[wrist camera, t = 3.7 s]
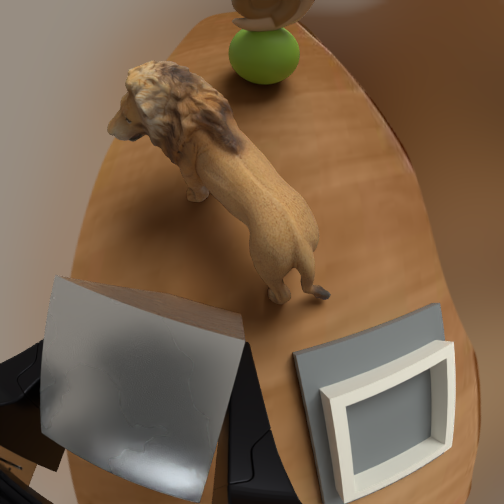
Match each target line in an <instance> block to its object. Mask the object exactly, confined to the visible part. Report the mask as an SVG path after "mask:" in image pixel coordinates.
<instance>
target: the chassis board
mask: <svg viewBox="0 0 504 504" xmlns="http://www.w3.org/2000/svg"><path fill="white" fill-rule="evenodd" d="M293 356H294V361H295V366H296V370H297V375H298V380H299V384H300V389H301V394H302V399H303V404H304V408H305V413H306V418H307V423H308V428H309V433H310V438H311V443H312V448H313V453H314V459H315V464H316V469H317V474H318V480H319V485H320V491H321V496H322V502H323V504H347V503H350V502H352V501H355V500H357V499H360V498H362V497H365V496H367V495H369V494H372V493H374V492H376V491H378V490H380V489H382V488H385V487H387V486H389V485H391V484H393V483H395V482H397V481H398V480H400V479H402V478H404V477H406V476H408V475H410V474H411V473H413V472H415V471H416V470H418V469H420V468H422V467H423V466H425V465H426V464H428V463H430V462H431V461H433V460H434V459H436V458H437V457H439V456H440V455H442V454H443V453H444V452H445V451H446V450H448V449H449V448H451V447H452V440H453V430H454V417H455V355H454V342H449V341H445V337H444V328H443V320H442V313H441V307H440V303H431V304H429V305H427V306H425V307H422V308H420V309H418V310H415V311H413V312H411V313H408V314H406V315H403V316H401V317H398V318H396V319H393V320H391V321H388V322H386V323H383V324H380V325H378V326H375V327H372V328H369V329H367V330H364V331H361V332H358V333H355V334H352V335H349V336H346V337H343V338H340V339H337V340H334V341H331V342H327V343H324V344H321V345H317V346H314V347H311V348H307V349H303V350H300V351H296V352H293Z"/></svg>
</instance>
